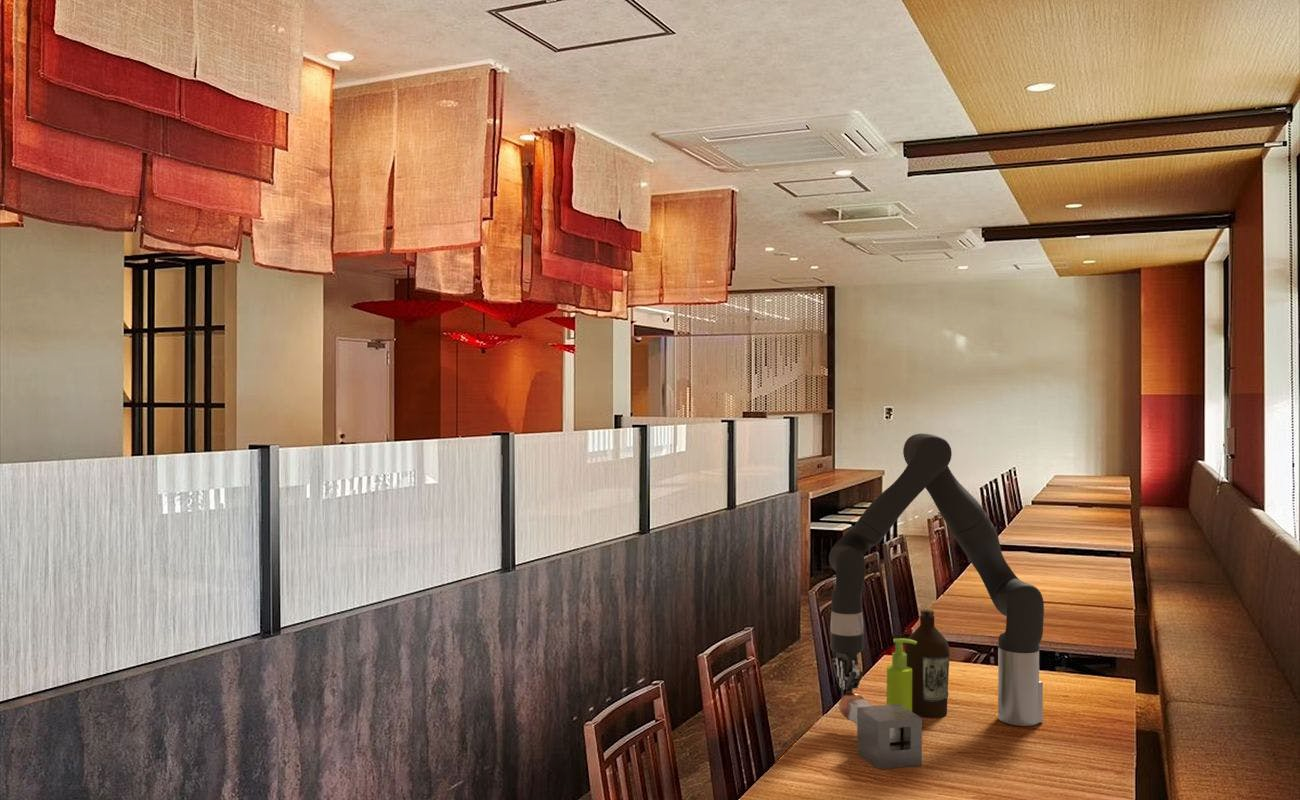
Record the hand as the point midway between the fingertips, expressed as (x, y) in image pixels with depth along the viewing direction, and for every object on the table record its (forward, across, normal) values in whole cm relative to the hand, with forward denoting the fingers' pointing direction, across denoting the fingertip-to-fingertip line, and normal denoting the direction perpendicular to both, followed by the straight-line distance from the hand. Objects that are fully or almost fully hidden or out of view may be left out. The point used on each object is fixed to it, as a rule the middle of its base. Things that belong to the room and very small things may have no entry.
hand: (846, 704), depth 243 cm
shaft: (+3, -13, 0) cm, 13 cm away
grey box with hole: (+6, -21, 0) cm, 22 cm away
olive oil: (+6, +6, -24) cm, 25 cm away
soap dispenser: (+6, 0, -14) cm, 15 cm away
